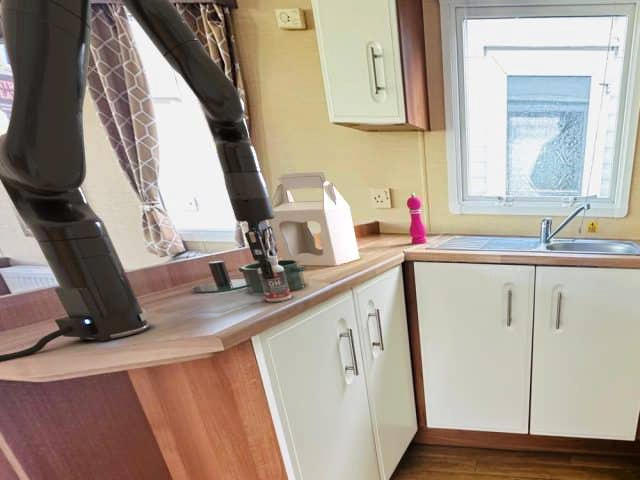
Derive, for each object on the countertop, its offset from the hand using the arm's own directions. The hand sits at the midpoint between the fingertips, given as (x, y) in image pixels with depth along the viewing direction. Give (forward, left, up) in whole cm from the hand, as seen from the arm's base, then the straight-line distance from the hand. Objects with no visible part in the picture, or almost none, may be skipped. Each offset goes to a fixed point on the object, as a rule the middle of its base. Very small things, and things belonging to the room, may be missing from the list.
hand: (272, 276), depth 97 cm
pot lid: (+9, +25, -5) cm, 27 cm away
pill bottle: (0, 0, -6) cm, 6 cm away
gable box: (+49, +24, -6) cm, 55 cm away
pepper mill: (+96, +9, -6) cm, 97 cm away
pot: (+10, +9, -5) cm, 14 cm away
